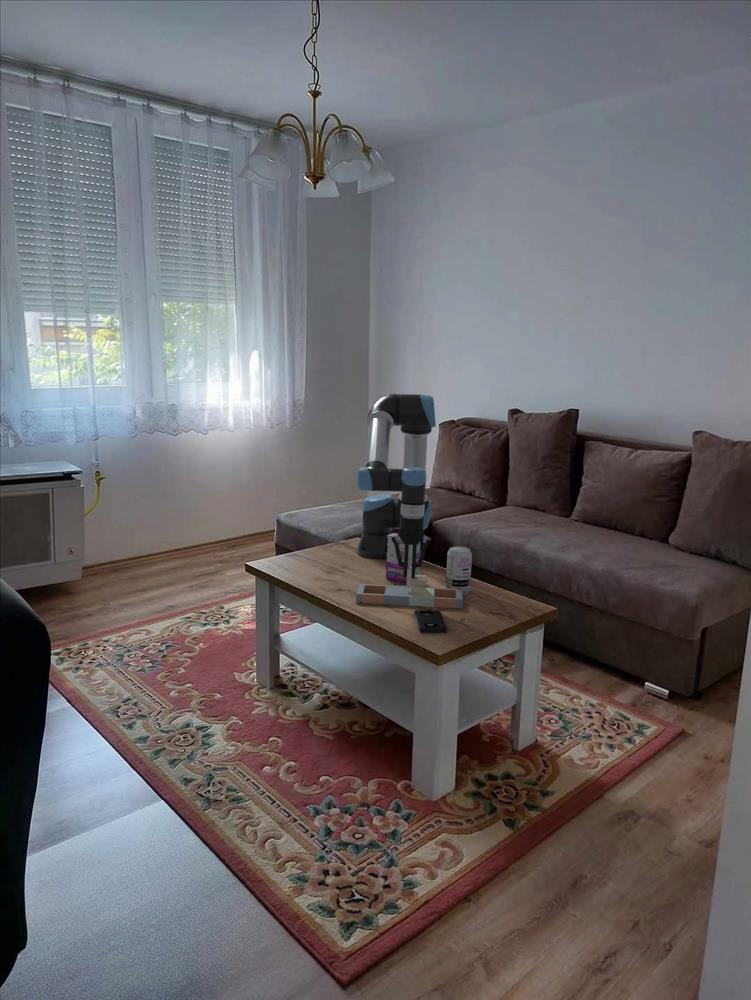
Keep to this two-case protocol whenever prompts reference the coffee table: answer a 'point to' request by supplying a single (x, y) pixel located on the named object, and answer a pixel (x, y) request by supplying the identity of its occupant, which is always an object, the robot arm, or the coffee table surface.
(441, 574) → the coffee table surface
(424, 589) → the birch block
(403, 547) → the candy bar box
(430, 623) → the vhs tape
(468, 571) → the supplement can
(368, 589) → the trap runway
